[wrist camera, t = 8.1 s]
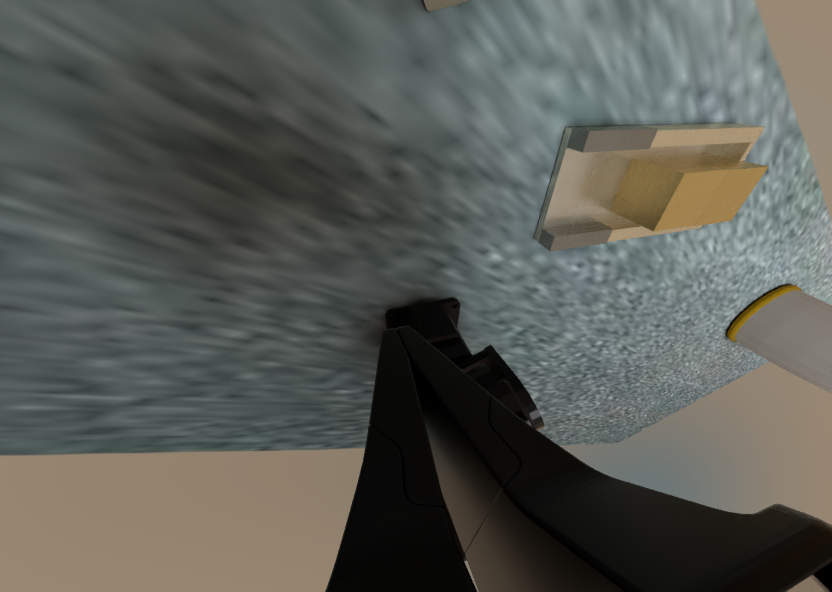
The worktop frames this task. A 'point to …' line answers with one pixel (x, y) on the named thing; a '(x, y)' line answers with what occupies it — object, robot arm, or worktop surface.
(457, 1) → the skincare box
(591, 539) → the robot arm
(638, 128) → the slot board
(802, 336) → the soap bottle
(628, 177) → the chip
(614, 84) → the worktop surface
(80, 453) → the worktop surface
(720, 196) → the chip
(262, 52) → the worktop surface
